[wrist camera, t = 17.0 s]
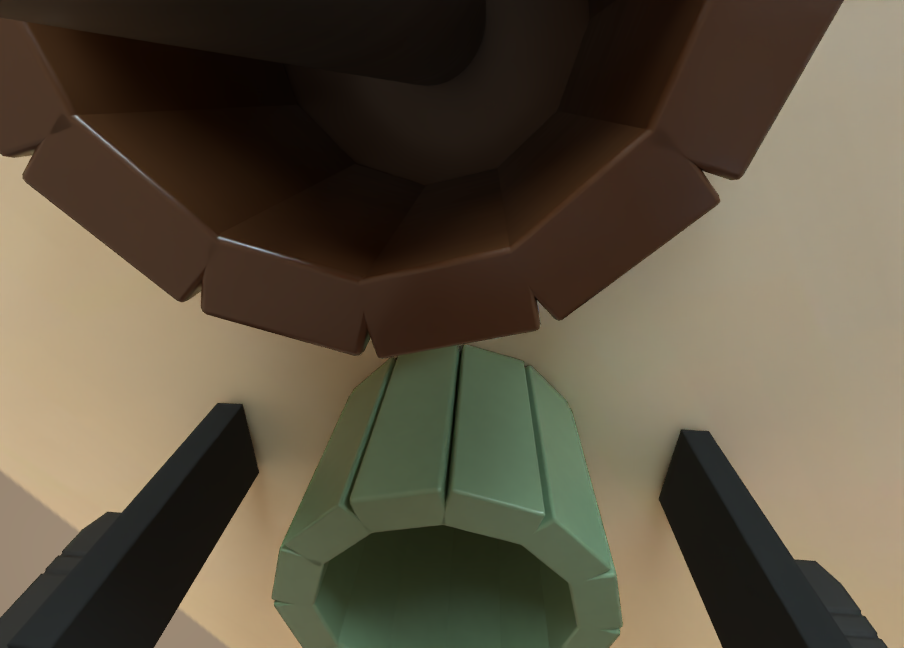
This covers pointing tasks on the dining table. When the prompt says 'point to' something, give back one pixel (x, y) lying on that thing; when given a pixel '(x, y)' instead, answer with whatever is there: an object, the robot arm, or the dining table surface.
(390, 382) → the sage ring
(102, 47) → the walnut ring
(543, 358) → the dining table surface
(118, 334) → the dining table surface
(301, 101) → the ring post
